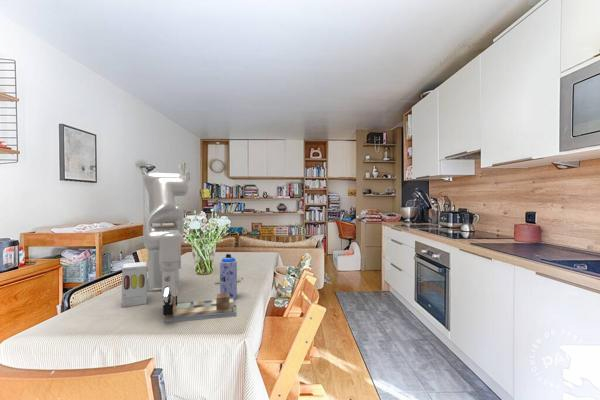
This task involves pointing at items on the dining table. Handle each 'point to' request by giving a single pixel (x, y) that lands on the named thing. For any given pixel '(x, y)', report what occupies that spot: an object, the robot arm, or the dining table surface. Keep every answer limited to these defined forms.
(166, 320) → the slate board
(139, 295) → the supplement box
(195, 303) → the broken strip
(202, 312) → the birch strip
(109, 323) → the dining table surface
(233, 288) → the aerosol can
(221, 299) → the walnut block
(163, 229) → the robot arm
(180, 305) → the felt coaster
